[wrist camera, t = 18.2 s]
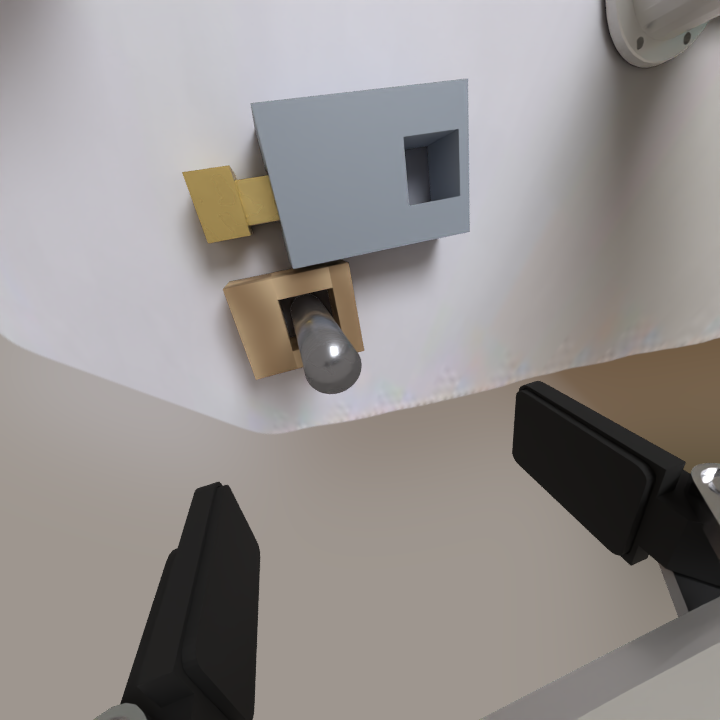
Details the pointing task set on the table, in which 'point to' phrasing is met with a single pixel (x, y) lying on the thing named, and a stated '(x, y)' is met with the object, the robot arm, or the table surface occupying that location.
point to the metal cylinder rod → (323, 347)
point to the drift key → (230, 202)
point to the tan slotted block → (266, 319)
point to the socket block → (365, 168)
